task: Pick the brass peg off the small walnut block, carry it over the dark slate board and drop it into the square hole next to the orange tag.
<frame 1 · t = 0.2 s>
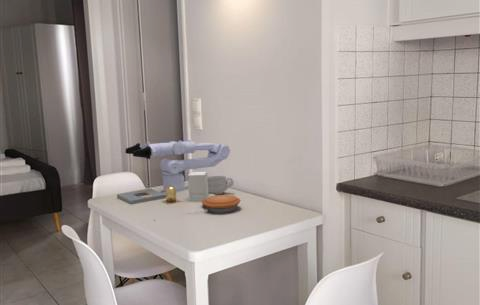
hand: (129, 152, 211), 21 cm above the table, tool horizontal, fingers open, 7 cm apart
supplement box: (199, 202, 207), on the table
pie: (221, 210, 194), on the table
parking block: (171, 204, 204), on the table
hole board: (141, 201, 212), on the table
teacup: (218, 194, 220), on the table
brass peg: (171, 201, 204), point 1 cm above the table, touching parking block
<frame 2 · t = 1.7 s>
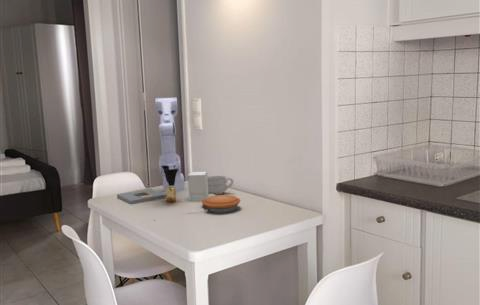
hand: (170, 183, 202), 9 cm above the table, tool pointing down, fingers open, 7 cm apart
nothing on the table moved.
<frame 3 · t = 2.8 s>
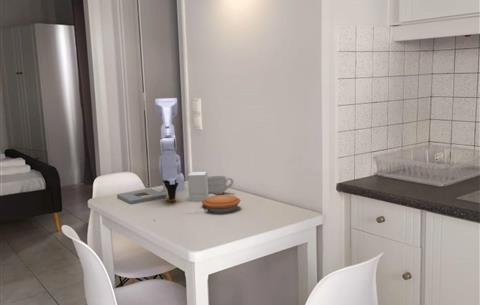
hand: (171, 198, 203), 3 cm above the table, tool pointing down, fingers closed on brass peg, 4 cm apart
brass peg: (171, 201, 204), point 1 cm above the table, touching gripper, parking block
everything else where it was.
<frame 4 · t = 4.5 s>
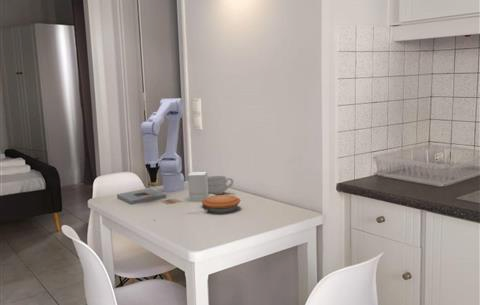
hand: (153, 181, 207), 9 cm above the table, tool pointing down, fingers closed on brass peg, 4 cm apart
brass peg: (153, 184, 207), point 8 cm above the table, touching gripper
everything else where it was.
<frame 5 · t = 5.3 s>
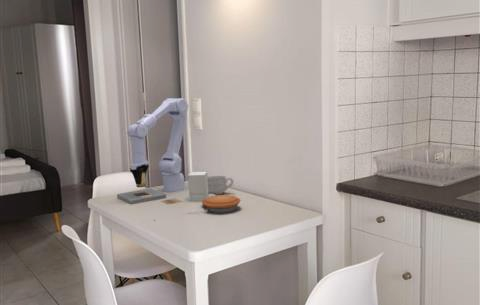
hand: (140, 182, 211), 8 cm above the table, tool pointing down, fingers closed on brass peg, 4 cm apart
brass peg: (141, 186, 211), point 7 cm above the table, touching gripper
everything else where it was.
when the fingers open (5 cm above the table, at t = 6.1 s): brass peg drops 4 cm, resting in hole board.
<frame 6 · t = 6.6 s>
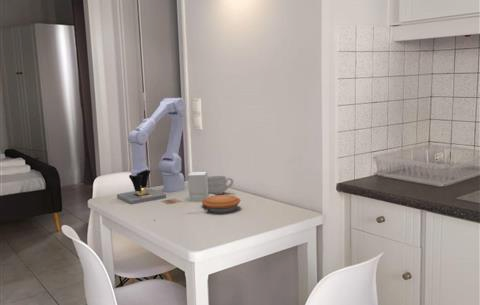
hand: (140, 189, 211), 5 cm above the table, tool pointing down, fingers open, 7 cm apart
brass peg: (142, 201, 212), resting in hole board
everything else where it was.
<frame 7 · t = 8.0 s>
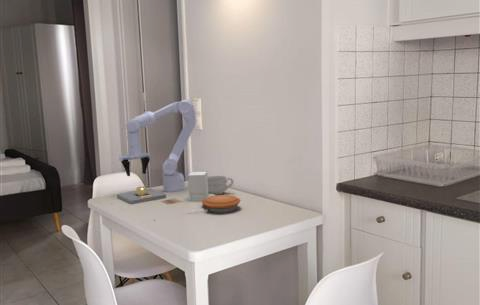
hand: (136, 174, 223), 9 cm above the table, tool pointing down, fingers open, 7 cm apart
nothing on the table moved.
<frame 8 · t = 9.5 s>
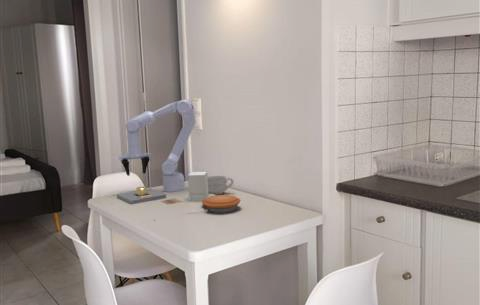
hand: (136, 174, 224), 9 cm above the table, tool pointing down, fingers open, 7 cm apart
nothing on the table moved.
at the end: brass peg 0.1 cm off-centre on the hole board, point 0.0 cm above the hole board's base; brass peg tilted 0°; the gripper is holding nothing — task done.
